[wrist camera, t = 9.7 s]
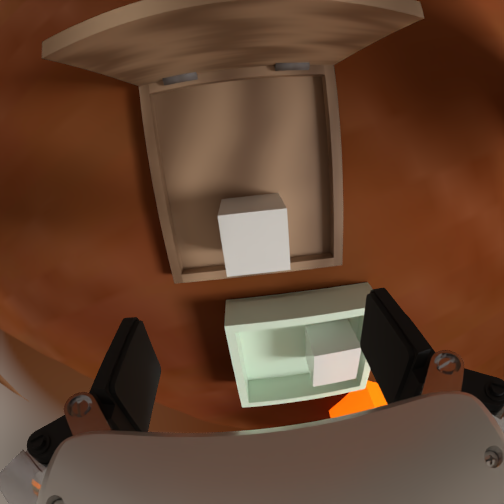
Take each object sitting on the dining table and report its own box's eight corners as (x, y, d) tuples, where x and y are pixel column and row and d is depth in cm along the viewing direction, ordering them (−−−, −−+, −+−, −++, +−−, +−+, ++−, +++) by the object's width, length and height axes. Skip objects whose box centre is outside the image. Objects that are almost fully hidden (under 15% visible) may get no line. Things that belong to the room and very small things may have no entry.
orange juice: (363, 378, 34) (412, 510, 15) (401, 388, 36) (449, 496, 17) (327, 411, 36) (357, 533, 18) (367, 418, 38) (401, 521, 20)
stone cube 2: (278, 192, 23) (286, 208, 19) (282, 244, 25) (290, 269, 21) (221, 199, 23) (217, 215, 19) (229, 250, 25) (227, 276, 21)
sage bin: (367, 282, 27) (383, 304, 24) (355, 365, 32) (365, 388, 29) (225, 299, 27) (224, 326, 24) (241, 381, 32) (242, 407, 29)
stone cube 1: (347, 318, 28) (361, 347, 24) (344, 349, 30) (356, 378, 26) (305, 325, 28) (314, 356, 24) (305, 356, 30) (313, 386, 26)
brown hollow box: (326, 59, 19) (420, 2, 6) (336, 257, 26) (403, 364, 13) (144, 79, 19) (42, 41, 6) (177, 274, 26) (137, 394, 14)
